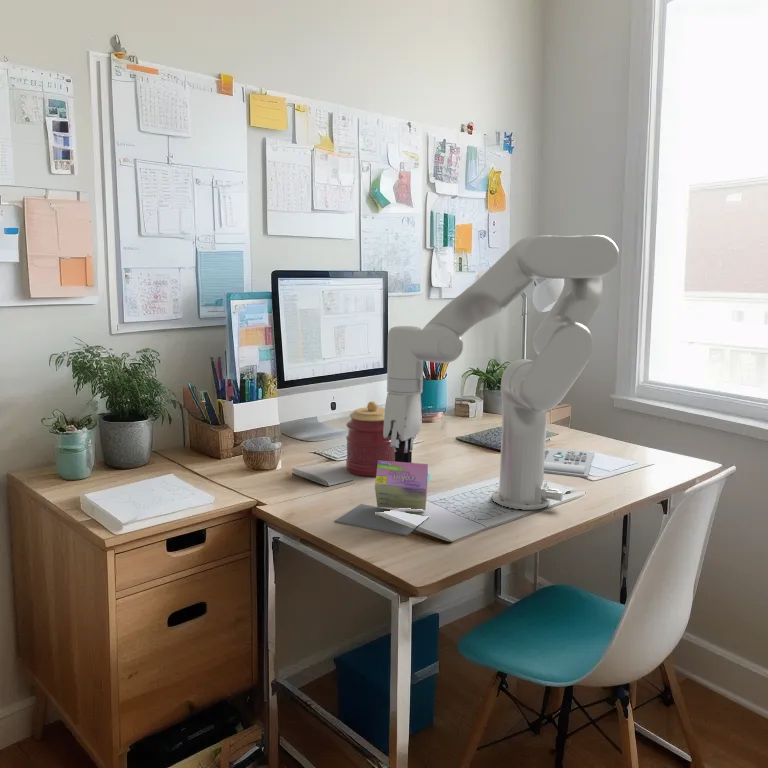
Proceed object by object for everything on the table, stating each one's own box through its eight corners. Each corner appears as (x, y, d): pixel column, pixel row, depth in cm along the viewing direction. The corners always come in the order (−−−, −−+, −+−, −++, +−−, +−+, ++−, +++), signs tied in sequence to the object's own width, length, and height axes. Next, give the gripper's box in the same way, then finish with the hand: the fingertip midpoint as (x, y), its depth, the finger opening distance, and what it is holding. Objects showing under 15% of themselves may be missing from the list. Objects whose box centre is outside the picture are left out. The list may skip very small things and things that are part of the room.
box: (427, 486, 157) (428, 463, 147) (425, 511, 154) (426, 489, 144) (379, 482, 158) (377, 459, 148) (377, 507, 155) (373, 485, 145)
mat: (429, 517, 150) (429, 516, 150) (406, 535, 140) (406, 534, 140) (360, 505, 157) (361, 503, 157) (334, 522, 147) (334, 520, 147)
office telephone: (589, 470, 179) (508, 462, 186) (588, 480, 180) (507, 471, 186) (595, 447, 201) (522, 440, 207) (594, 456, 201) (521, 449, 208)
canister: (346, 477, 177) (346, 406, 174) (345, 462, 190) (345, 396, 187) (399, 477, 178) (400, 406, 175) (395, 462, 190) (396, 396, 187)
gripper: (403, 378, 161) (401, 458, 164) (372, 389, 148) (371, 475, 151) (434, 381, 158) (432, 463, 161) (406, 392, 145) (404, 481, 148)
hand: (403, 469), depth 156 cm, fingers closed
